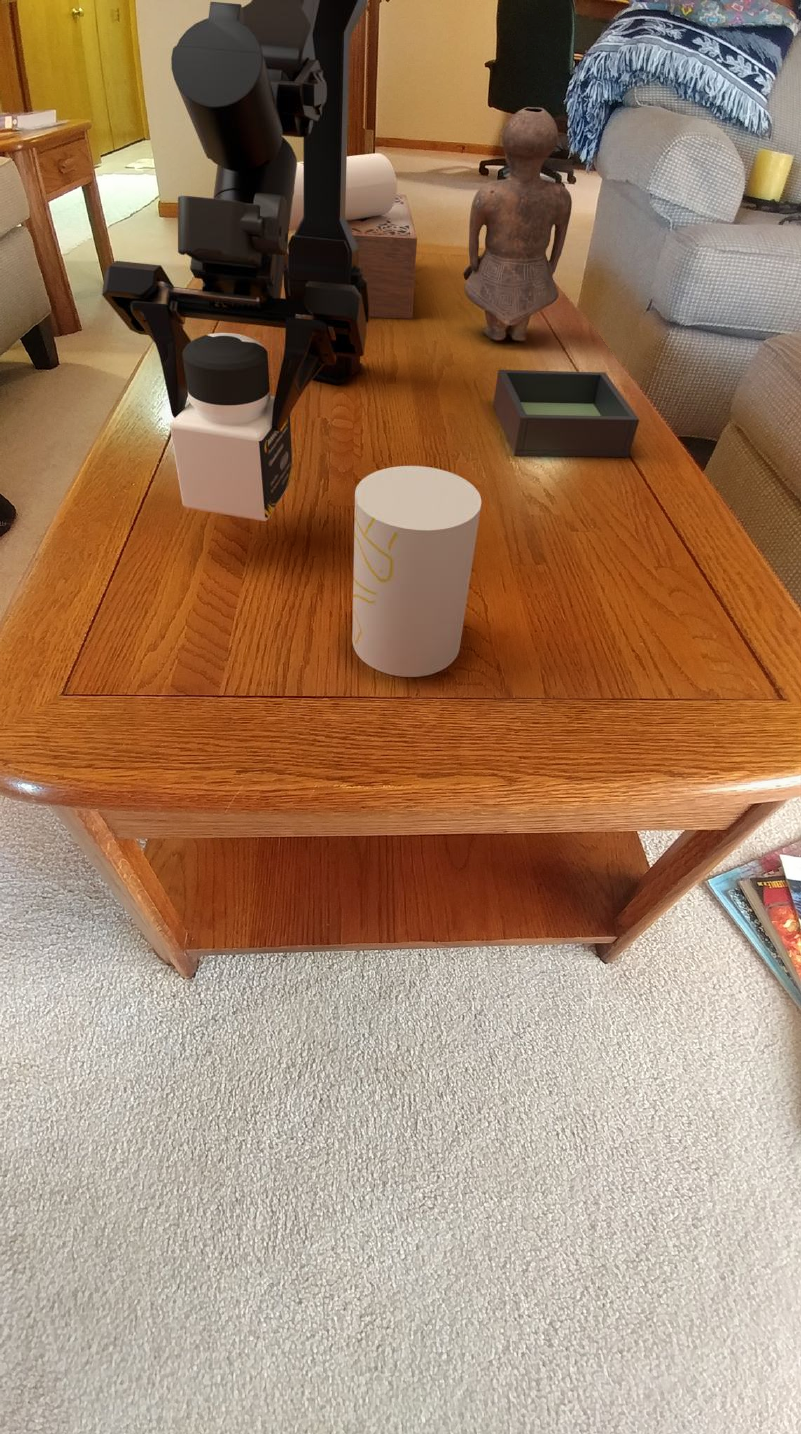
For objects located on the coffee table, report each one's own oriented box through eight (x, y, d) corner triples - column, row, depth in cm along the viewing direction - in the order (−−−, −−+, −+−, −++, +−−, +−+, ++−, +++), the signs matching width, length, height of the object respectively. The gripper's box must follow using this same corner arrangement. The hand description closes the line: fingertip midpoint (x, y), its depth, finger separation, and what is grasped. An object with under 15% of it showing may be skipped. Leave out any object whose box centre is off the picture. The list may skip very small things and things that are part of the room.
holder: (514, 455, 79) (520, 417, 76) (493, 405, 88) (498, 369, 85) (628, 457, 81) (639, 419, 78) (596, 407, 90) (605, 372, 87)
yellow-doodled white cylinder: (350, 607, 59) (352, 464, 51) (452, 607, 60) (471, 466, 52) (354, 677, 54) (357, 529, 45) (467, 676, 54) (491, 530, 46)
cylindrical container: (256, 236, 93) (400, 212, 106) (242, 165, 89) (392, 149, 102) (225, 241, 97) (366, 217, 110) (209, 174, 93) (358, 157, 106)
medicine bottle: (267, 523, 60) (255, 367, 51) (181, 509, 60) (155, 353, 52) (294, 480, 64) (287, 331, 56) (214, 467, 65) (196, 318, 56)
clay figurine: (540, 326, 109) (579, 105, 91) (558, 351, 102) (604, 117, 84) (452, 324, 107) (475, 98, 89) (464, 349, 100) (491, 111, 83)
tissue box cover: (412, 318, 108) (417, 238, 101) (310, 314, 107) (308, 232, 99) (402, 266, 126) (405, 194, 119) (315, 261, 125) (313, 189, 117)
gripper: (79, 120, 49) (50, 361, 49) (364, 147, 48) (333, 392, 48) (146, 229, 60) (122, 425, 60) (377, 253, 59) (352, 451, 59)
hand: (225, 423), depth 57 cm, fingers closed on medicine bottle, 7 cm apart
